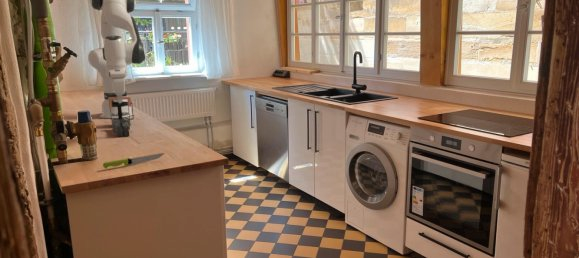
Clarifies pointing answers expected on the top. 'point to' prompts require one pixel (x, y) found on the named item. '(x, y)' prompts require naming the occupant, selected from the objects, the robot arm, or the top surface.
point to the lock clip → (117, 99)
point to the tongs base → (119, 125)
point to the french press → (119, 105)
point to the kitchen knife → (132, 160)
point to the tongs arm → (125, 128)
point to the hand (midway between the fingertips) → (119, 102)
